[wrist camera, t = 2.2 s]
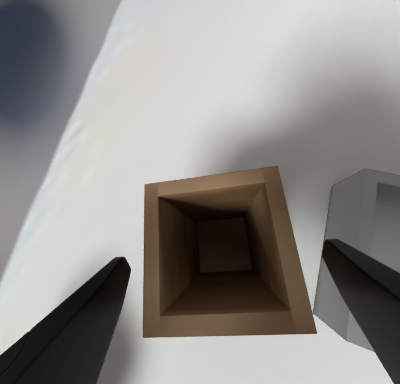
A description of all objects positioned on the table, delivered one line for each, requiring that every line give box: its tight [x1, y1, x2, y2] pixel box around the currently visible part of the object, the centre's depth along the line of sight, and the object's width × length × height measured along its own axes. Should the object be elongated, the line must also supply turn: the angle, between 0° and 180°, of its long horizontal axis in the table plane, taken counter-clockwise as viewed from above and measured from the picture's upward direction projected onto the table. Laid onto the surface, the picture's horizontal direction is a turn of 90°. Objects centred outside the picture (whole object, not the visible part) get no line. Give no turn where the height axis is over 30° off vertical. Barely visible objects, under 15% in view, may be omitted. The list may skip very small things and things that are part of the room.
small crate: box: [143, 166, 317, 338], centre depth 11 cm, size 6×6×10 cm
